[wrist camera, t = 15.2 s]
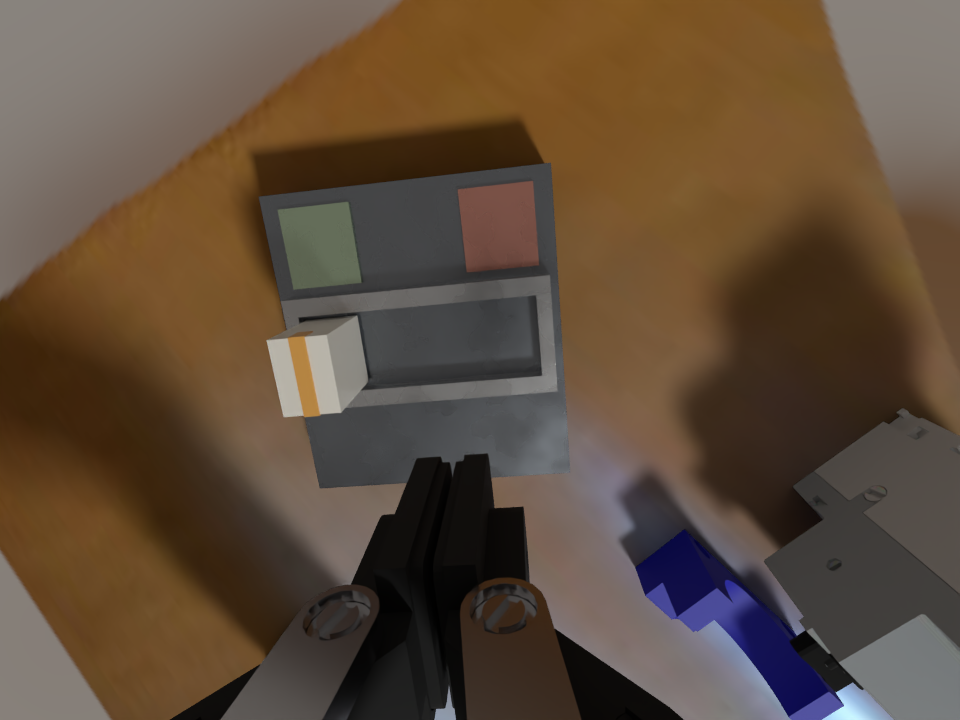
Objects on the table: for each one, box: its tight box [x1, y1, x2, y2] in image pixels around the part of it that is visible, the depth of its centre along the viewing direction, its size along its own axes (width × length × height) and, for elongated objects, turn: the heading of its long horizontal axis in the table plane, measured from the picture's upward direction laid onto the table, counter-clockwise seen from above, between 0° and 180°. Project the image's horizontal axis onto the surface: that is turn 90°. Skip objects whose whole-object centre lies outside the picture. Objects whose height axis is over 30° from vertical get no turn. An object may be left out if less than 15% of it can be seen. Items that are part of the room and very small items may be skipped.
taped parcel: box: [267, 315, 368, 417], centre depth 27 cm, size 4×3×5 cm
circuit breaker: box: [764, 408, 960, 720], centre depth 27 cm, size 8×14×15 cm, turn 135°
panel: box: [259, 163, 570, 488], centre depth 31 cm, size 18×16×4 cm
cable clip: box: [635, 529, 844, 720], centre depth 34 cm, size 12×4×6 cm, turn 47°
